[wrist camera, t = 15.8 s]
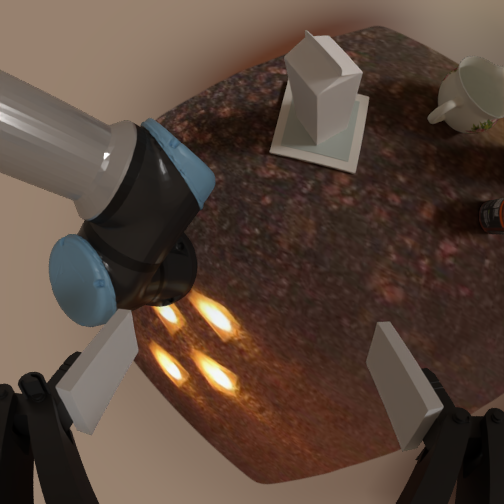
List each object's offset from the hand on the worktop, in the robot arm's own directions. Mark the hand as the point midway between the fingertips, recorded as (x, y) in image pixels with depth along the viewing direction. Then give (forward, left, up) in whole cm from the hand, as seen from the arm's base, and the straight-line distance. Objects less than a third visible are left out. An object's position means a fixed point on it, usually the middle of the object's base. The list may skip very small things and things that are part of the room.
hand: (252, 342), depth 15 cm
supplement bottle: (+33, +17, -34) cm, 50 cm away
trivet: (-1, +23, -33) cm, 41 cm away
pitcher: (+22, +33, -34) cm, 52 cm away
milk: (-1, +23, -32) cm, 40 cm away
